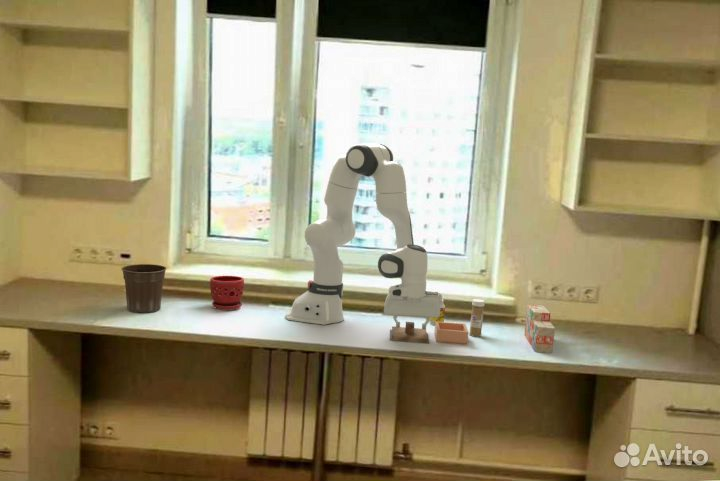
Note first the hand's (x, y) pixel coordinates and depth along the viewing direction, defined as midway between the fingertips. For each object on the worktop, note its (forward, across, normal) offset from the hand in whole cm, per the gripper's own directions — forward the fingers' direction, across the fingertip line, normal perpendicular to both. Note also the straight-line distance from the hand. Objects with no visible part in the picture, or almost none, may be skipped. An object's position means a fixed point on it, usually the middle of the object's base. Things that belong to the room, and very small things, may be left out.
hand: (410, 328), depth 254 cm
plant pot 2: (+3, +72, -22) cm, 76 cm away
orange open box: (+4, -15, -1) cm, 15 cm away
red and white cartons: (+4, -47, -5) cm, 47 cm away
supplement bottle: (+4, -11, -20) cm, 23 cm away
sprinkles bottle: (+4, -25, -10) cm, 27 cm away
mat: (+4, 0, 0) cm, 4 cm away
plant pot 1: (+3, +101, -10) cm, 102 cm away
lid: (+3, 0, 0) cm, 3 cm away
